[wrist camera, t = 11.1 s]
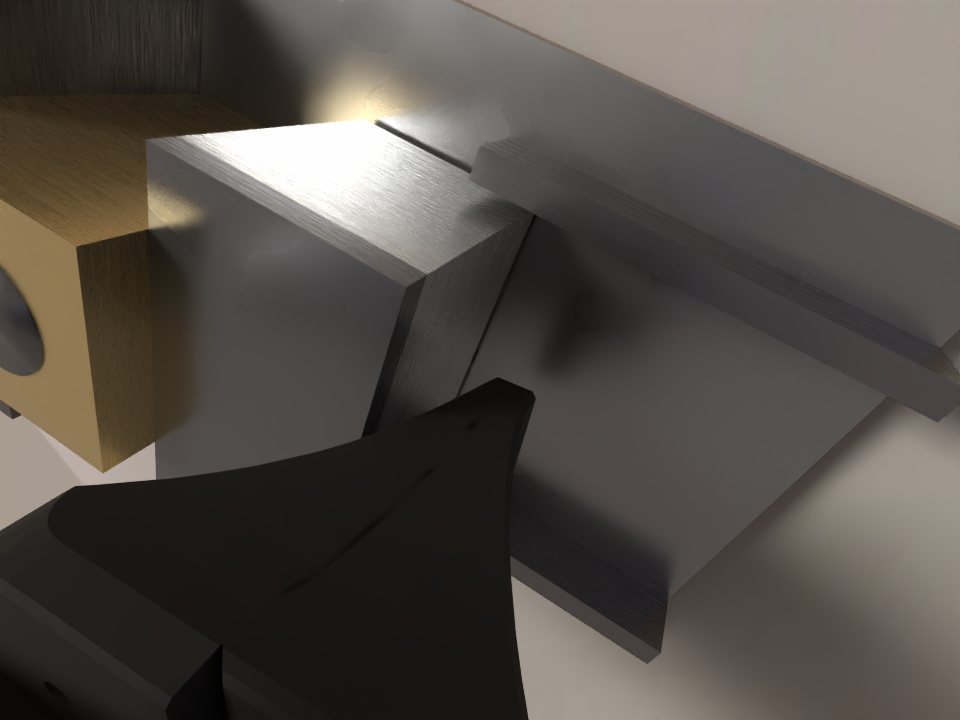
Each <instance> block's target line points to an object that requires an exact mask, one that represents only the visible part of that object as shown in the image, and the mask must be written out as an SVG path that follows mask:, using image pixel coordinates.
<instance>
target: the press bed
mask: <svg viewBox="0 0 960 720" xmlns="http://www.w3.org/2000/svg"><path fill="white" fill-rule="evenodd" d="M133 94H202V95H204V96H206V97H208V98H210V99H211V100H213V101H215V102H217V103H219V104H221V105H223V106H224V107H226V108H228V109H230V110H232V111H234V112H236V113H238V114H239V115H241V116H243V117H245V118H247V119H249V120H251V121H252V122H254V123H256V124H258V125H260V126H262V127H264V128H275V127H286V126H297V125H308V124H319V123H330V122H342V121H353V120H366V121H368V122H370V123H372V124H374V125H376V126H378V127H380V128H382V129H384V130H386V131H388V132H390V133H392V134H394V135H396V136H398V137H400V138H401V139H403V140H405V141H407V142H409V143H411V144H413V145H415V146H417V147H419V148H421V149H423V150H425V151H427V152H429V153H431V154H433V155H435V156H437V157H438V158H440V159H442V160H444V161H446V162H448V163H450V164H452V165H454V166H456V167H458V168H460V169H462V170H464V171H466V172H468V173H470V176H469V179H468V180H470V181H471V182H473V183H475V184H477V185H479V186H481V187H483V188H485V189H487V190H489V191H491V192H493V193H495V194H497V195H499V196H501V197H502V198H504V199H506V200H508V201H510V202H512V203H514V204H516V205H518V206H520V207H522V208H524V209H526V210H528V211H530V212H532V213H533V214H534V215H533V217H532V220H531V222H530V224H529V227H528V229H527V231H526V234H525V236H524V238H523V241H522V243H521V245H520V248H519V250H518V252H517V255H516V257H515V259H514V262H513V264H512V266H511V269H510V271H509V274H508V276H507V278H506V281H505V283H504V285H503V288H502V290H501V292H500V295H499V297H498V299H497V302H496V304H495V306H494V309H493V311H492V313H491V316H490V318H489V320H488V323H487V325H486V327H485V330H484V332H483V334H482V337H481V339H480V341H479V344H478V346H477V348H476V351H475V353H474V356H473V358H472V360H471V363H470V365H469V367H468V370H467V372H466V374H465V377H464V379H463V381H462V384H461V386H460V388H459V391H458V393H457V395H456V398H457V397H459V396H461V395H463V394H465V393H467V392H468V391H470V390H472V389H474V388H476V387H478V386H480V385H482V384H484V383H486V382H488V381H490V380H492V379H494V378H497V377H499V378H501V379H504V380H506V381H509V382H511V383H514V384H516V385H518V386H521V387H523V388H526V389H528V390H531V391H533V393H534V395H535V397H536V401H535V404H534V407H533V410H532V413H531V417H530V420H529V423H528V426H527V430H526V433H525V436H524V439H523V443H522V446H521V449H520V452H519V456H518V459H517V462H516V465H515V468H514V472H513V480H512V493H511V509H510V564H511V576H513V577H514V578H516V579H517V580H519V581H520V582H522V583H523V584H525V585H527V586H528V587H530V588H531V589H533V590H534V591H536V592H537V593H539V594H540V595H542V596H543V597H545V598H547V599H548V600H550V601H551V602H553V603H554V604H556V605H557V606H559V607H560V608H562V609H563V610H565V611H567V612H568V613H570V614H571V615H573V616H574V617H576V618H577V619H579V620H580V621H582V622H583V623H585V624H587V625H588V626H590V627H591V628H593V629H594V630H596V631H597V632H599V633H600V634H602V635H603V636H605V637H606V638H608V639H610V640H611V641H613V642H614V643H616V644H617V645H619V646H620V647H622V648H623V649H625V650H626V651H628V652H630V653H631V654H633V655H634V656H636V657H637V658H639V659H640V660H642V661H643V662H645V663H646V664H648V663H649V662H650V661H652V660H653V659H654V658H655V657H656V656H658V655H659V654H660V653H661V648H662V640H663V633H664V625H665V618H666V611H667V603H668V599H669V598H670V597H672V596H673V595H674V594H675V593H676V592H677V591H678V590H679V589H680V588H681V587H682V586H683V585H684V584H686V583H687V582H688V581H689V580H690V579H691V578H692V577H693V576H694V575H695V574H696V573H697V572H699V571H700V570H701V569H702V568H703V567H704V566H705V565H706V564H707V563H708V562H709V561H710V560H711V559H713V558H714V557H715V556H716V555H717V554H718V553H719V552H720V551H721V550H722V549H723V548H724V547H725V546H727V545H728V544H729V543H730V542H731V541H732V540H733V539H734V538H735V537H736V536H737V535H738V534H740V533H741V532H742V531H743V530H744V529H745V528H746V527H747V526H748V525H749V524H750V523H751V522H752V521H754V520H755V519H756V518H757V517H758V516H759V515H760V514H761V513H762V512H763V511H764V510H765V509H766V508H768V507H769V506H770V505H771V504H772V503H773V502H774V501H775V500H776V499H777V498H778V497H779V496H781V495H782V494H783V493H784V492H785V491H786V490H787V489H788V488H789V487H790V486H791V485H792V484H793V483H795V482H796V481H797V480H798V479H799V478H800V477H801V476H802V475H803V474H804V473H805V472H806V471H807V470H809V469H810V468H811V467H812V466H813V465H814V464H815V463H816V462H817V461H818V460H819V459H820V458H822V457H823V456H824V455H825V454H826V453H827V452H828V451H829V450H830V449H831V448H832V447H833V446H834V445H836V444H837V443H838V442H839V441H840V440H841V439H842V438H843V437H844V436H845V435H846V434H847V433H848V432H850V431H851V430H852V429H853V428H854V427H855V426H856V425H857V424H858V423H859V422H860V421H861V420H863V419H864V418H865V417H866V416H867V415H868V414H869V413H870V412H871V411H872V410H873V409H874V408H875V407H877V406H878V405H879V404H880V403H881V402H882V401H883V400H884V399H885V398H886V397H887V396H888V397H890V398H892V399H894V400H896V401H898V402H900V403H901V404H903V405H905V406H907V407H909V408H911V409H913V410H915V411H917V412H919V413H921V414H923V415H925V416H927V417H929V418H931V419H932V420H934V421H936V422H939V421H940V420H941V419H942V418H944V417H945V416H946V415H947V414H948V413H950V412H951V411H952V410H953V409H954V408H956V407H957V406H958V405H959V404H960V374H959V373H958V371H957V370H956V369H955V367H954V366H953V365H952V364H951V362H950V361H949V360H948V358H947V357H946V356H945V354H944V353H943V352H942V351H941V349H940V347H941V346H942V345H943V344H945V343H946V342H947V341H948V340H949V339H950V338H951V337H952V336H953V335H954V334H955V333H956V332H957V331H959V330H960V226H959V225H956V224H954V223H952V222H950V221H947V220H945V219H943V218H941V217H939V216H936V215H934V214H932V213H930V212H928V211H925V210H923V209H921V208H919V207H916V206H914V205H912V204H910V203H908V202H905V201H903V200H901V199H899V198H897V197H894V196H892V195H890V194H888V193H886V192H883V191H881V190H879V189H877V188H874V187H872V186H870V185H868V184H866V183H863V182H861V181H859V180H857V179H855V178H852V177H850V176H848V175H846V174H844V173H841V172H839V171H837V170H835V169H832V168H830V167H828V166H826V165H824V164H821V163H819V162H817V161H815V160H813V159H810V158H808V157H806V156H804V155H801V154H799V153H797V152H795V151H793V150H790V149H788V148H786V147H784V146H782V145H779V144H777V143H775V142H773V141H771V140H768V139H766V138H764V137H762V136H759V135H757V134H755V133H753V132H751V131H748V130H746V129H744V128H742V127H740V126H737V125H735V124H733V123H731V122H728V121H726V120H724V119H722V118H720V117H717V116H715V115H713V114H711V113H709V112H706V111H704V110H702V109H700V108H698V107H695V106H693V105H691V104H689V103H686V102H684V101H682V100H680V99H678V98H675V97H673V96H671V95H669V94H667V93H664V92H662V91H660V90H658V89H656V88H653V87H651V86H649V85H647V84H644V83H642V82H640V81H638V80H636V79H633V78H631V77H629V76H627V75H625V74H622V73H620V72H618V71H616V70H613V69H611V68H609V67H607V66H605V65H602V64H600V63H598V62H596V61H594V60H591V59H589V58H587V57H585V56H583V55H580V54H578V53H576V52H574V51H571V50H569V49H567V48H565V47H563V46H560V45H558V44H556V43H554V42H552V41H549V40H547V39H545V38H543V37H540V36H538V35H536V34H534V33H532V32H529V31H527V30H525V29H523V28H521V27H518V26H516V25H514V24H512V23H510V22H507V21H505V20H503V19H501V18H498V17H496V16H494V15H492V14H490V13H487V12H485V11H483V10H481V9H479V8H476V7H474V6H472V5H470V4H468V3H465V2H463V1H461V0H0V96H64V95H133ZM0 411H2V412H3V413H4V414H6V415H7V416H9V417H10V418H11V419H14V418H16V417H18V416H21V414H20V413H19V412H17V411H16V410H14V409H13V408H12V407H10V406H9V405H7V404H6V403H5V402H3V401H2V400H0Z"/></svg>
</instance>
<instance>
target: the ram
mask: <svg viewBox="0 0 960 720" xmlns="http://www.w3.org/2000/svg"><path fill="white" fill-rule="evenodd" d="M146 159H147V192H148V225H149V256H150V289H151V322H152V356H153V389H154V422H155V457H156V480H159V479H169V478H177V477H186V476H193V475H200V474H207V473H214V472H221V471H227V470H233V469H239V468H245V467H251V466H256V465H261V464H265V463H270V462H274V461H279V460H283V459H287V458H292V457H296V456H301V455H305V454H310V453H314V452H318V451H321V450H325V449H329V448H332V447H335V446H339V445H342V444H345V443H349V442H352V441H355V440H358V439H361V438H364V437H366V436H369V435H372V434H375V433H377V432H380V431H382V430H385V429H387V428H390V427H392V426H395V425H397V424H400V423H402V422H405V421H407V420H410V419H412V418H414V417H417V416H419V415H421V414H423V413H425V412H427V411H430V410H432V409H434V408H436V407H438V406H440V405H442V404H445V403H447V402H449V401H451V400H453V399H455V398H456V395H457V393H458V391H459V388H460V386H461V384H462V381H463V379H464V377H465V374H466V372H467V370H468V367H469V365H470V363H471V360H472V358H473V356H474V353H475V351H476V348H477V346H478V344H479V341H480V339H481V337H482V334H483V332H484V330H485V327H486V325H487V323H488V320H489V318H490V316H491V313H492V311H493V309H494V306H495V304H496V302H497V299H498V297H499V295H500V292H501V290H502V288H503V285H504V283H505V281H506V278H507V276H508V274H509V271H510V269H511V266H512V264H513V262H514V259H515V257H516V255H517V252H518V250H519V248H520V245H521V243H522V241H523V238H524V236H525V234H526V231H527V229H528V227H529V224H530V222H531V220H532V217H533V215H534V214H533V213H532V212H530V211H528V210H526V209H524V208H522V207H520V206H518V205H516V204H514V203H512V202H510V201H508V200H506V199H504V198H502V197H501V196H499V195H497V194H495V193H493V192H491V191H489V190H487V189H485V188H483V187H481V186H479V185H477V184H475V183H473V182H471V181H470V180H468V179H469V176H470V173H468V172H466V171H464V170H462V169H460V168H458V167H456V166H454V165H452V164H450V163H448V162H446V161H444V160H442V159H440V158H438V157H437V156H435V155H433V154H431V153H429V152H427V151H425V150H423V149H421V148H419V147H417V146H415V145H413V144H411V143H409V142H407V141H405V140H403V139H401V138H400V137H398V136H396V135H394V134H392V133H390V132H388V131H386V130H384V129H382V128H380V127H378V126H376V125H374V124H372V123H370V122H368V121H366V120H353V121H342V122H330V123H319V124H308V125H297V126H286V127H275V128H264V129H253V130H242V131H231V132H220V133H209V134H198V135H187V136H176V137H165V138H154V139H146Z"/></svg>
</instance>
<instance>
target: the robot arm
mask: <svg viewBox="0 0 960 720" xmlns="http://www.w3.org/2000/svg"><path fill="white" fill-rule="evenodd" d="M535 401H536V397H535V395H534V393H533V391H531V390H528V389H526V388H523V387H521V386H518V385H516V384H514V383H511V382H509V381H506V380H504V379H501V378H499V377H497V378H494V379H492V380H490V381H488V382H486V383H484V384H482V385H480V386H478V387H476V388H474V389H472V390H470V391H468V392H467V393H465V394H463V395H461V396H459V397H457V398H455V399H453V400H451V401H449V402H447V403H445V404H442V405H440V406H438V407H436V408H434V409H432V410H430V411H427V412H425V413H423V414H421V415H419V416H417V417H414V418H412V419H410V420H407V421H405V422H402V423H400V424H397V425H395V426H392V427H390V428H387V429H385V430H382V431H380V432H377V433H375V434H372V435H369V436H366V437H364V438H361V439H358V440H355V441H352V442H349V443H345V444H342V445H339V446H335V447H332V448H329V449H325V450H321V451H318V452H314V453H310V454H305V455H301V456H296V457H292V458H287V459H283V460H279V461H274V462H270V463H265V464H261V465H256V466H251V467H245V468H239V469H233V470H227V471H221V472H214V473H207V474H200V475H193V476H186V477H177V478H169V479H159V480H147V481H136V482H124V483H113V484H101V485H87V486H75V487H73V488H71V489H70V490H68V491H66V492H64V493H62V494H61V495H59V496H58V497H56V498H54V499H52V500H51V501H49V502H47V503H46V504H44V505H43V506H41V507H39V508H37V509H36V510H34V511H32V512H31V513H29V514H28V515H26V516H24V517H23V518H21V519H19V520H18V521H16V522H14V523H13V524H11V525H9V526H7V527H6V528H4V529H3V530H1V531H0V720H529V719H528V713H527V707H526V701H525V695H524V689H523V683H522V676H521V669H520V661H519V654H518V646H517V639H516V629H515V618H514V606H513V595H512V584H511V564H510V509H511V493H512V480H513V472H514V468H515V465H516V462H517V459H518V456H519V452H520V449H521V446H522V443H523V439H524V436H525V433H526V430H527V426H528V423H529V420H530V417H531V413H532V410H533V407H534V404H535Z"/></svg>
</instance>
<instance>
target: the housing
mask: <svg viewBox="0 0 960 720" xmlns="http://www.w3.org/2000/svg"><path fill="white" fill-rule="evenodd" d="M253 129H264V127H262V126H260V125H258V124H256V123H254V122H252V121H251V120H249V119H247V118H245V117H243V116H241V115H239V114H238V113H236V112H234V111H232V110H230V109H228V108H226V107H224V106H223V105H221V104H219V103H217V102H215V101H213V100H211V99H210V98H208V97H206V96H204V95H202V94H133V95H64V96H0V400H2V401H3V402H5V403H6V404H7V405H9V406H10V407H12V408H13V409H14V410H16V411H17V412H19V413H20V414H21V415H23V416H24V417H26V418H27V419H28V420H30V421H31V422H32V423H34V424H35V425H37V426H38V427H39V428H41V429H42V430H44V431H45V432H46V433H48V434H49V435H51V436H52V437H53V438H55V439H56V440H58V441H59V442H60V443H62V444H63V445H64V446H66V447H67V448H69V449H70V450H71V451H73V452H74V453H76V454H77V455H78V456H80V457H81V458H83V459H84V460H85V461H87V462H88V463H90V464H91V465H92V466H94V467H95V468H96V469H98V470H99V471H101V472H102V473H104V472H106V471H108V470H109V469H111V468H113V467H114V466H116V465H117V464H119V463H121V462H122V461H124V460H126V459H127V458H129V457H131V456H132V455H134V454H135V453H137V452H139V451H140V450H142V449H144V448H145V447H147V446H149V445H150V444H152V443H153V442H155V422H154V389H153V356H152V322H151V289H150V256H149V225H148V192H147V159H146V139H154V138H165V137H176V136H187V135H198V134H209V133H220V132H231V131H242V130H253Z"/></svg>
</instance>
